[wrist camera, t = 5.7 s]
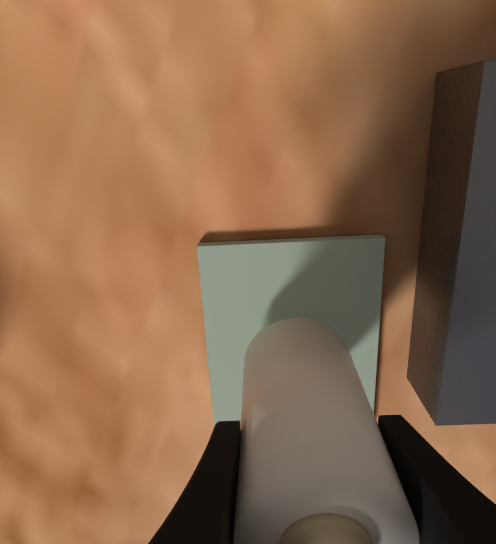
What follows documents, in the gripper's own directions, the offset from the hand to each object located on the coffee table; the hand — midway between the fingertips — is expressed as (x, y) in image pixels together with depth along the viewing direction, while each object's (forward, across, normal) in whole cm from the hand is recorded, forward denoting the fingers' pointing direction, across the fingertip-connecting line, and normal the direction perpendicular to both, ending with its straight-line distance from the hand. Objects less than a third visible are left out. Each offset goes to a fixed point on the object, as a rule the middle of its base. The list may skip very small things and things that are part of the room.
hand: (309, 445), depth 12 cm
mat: (+6, 0, 0) cm, 6 cm away
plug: (+4, 0, 0) cm, 4 cm away
